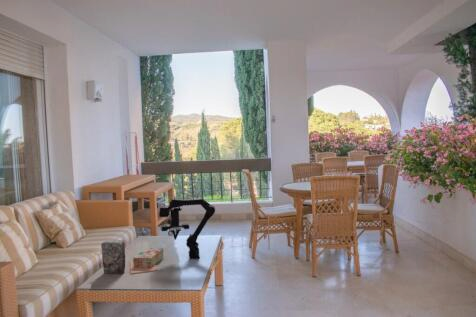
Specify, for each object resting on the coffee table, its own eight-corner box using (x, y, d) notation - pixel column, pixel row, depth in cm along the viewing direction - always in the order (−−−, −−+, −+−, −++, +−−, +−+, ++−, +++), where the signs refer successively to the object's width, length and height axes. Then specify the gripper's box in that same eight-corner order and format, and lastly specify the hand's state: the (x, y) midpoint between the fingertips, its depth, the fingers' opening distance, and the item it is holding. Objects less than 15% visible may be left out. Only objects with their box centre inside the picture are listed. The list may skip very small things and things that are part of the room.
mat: (154, 258, 260) (154, 257, 260) (157, 270, 235) (157, 269, 235) (130, 261, 255) (130, 260, 255) (130, 274, 231) (130, 273, 230)
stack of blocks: (163, 257, 260) (147, 256, 262) (163, 248, 260) (146, 247, 262) (151, 267, 239) (133, 267, 242) (150, 258, 239) (132, 257, 241)
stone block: (102, 274, 231) (100, 242, 230) (106, 270, 238) (104, 239, 237) (123, 274, 231) (121, 242, 230) (127, 270, 238) (125, 239, 237)
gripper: (185, 213, 268) (186, 235, 269) (159, 215, 262) (159, 237, 263) (189, 216, 258) (189, 239, 259) (161, 219, 251) (162, 242, 252)
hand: (175, 239), depth 258 cm, fingers closed
